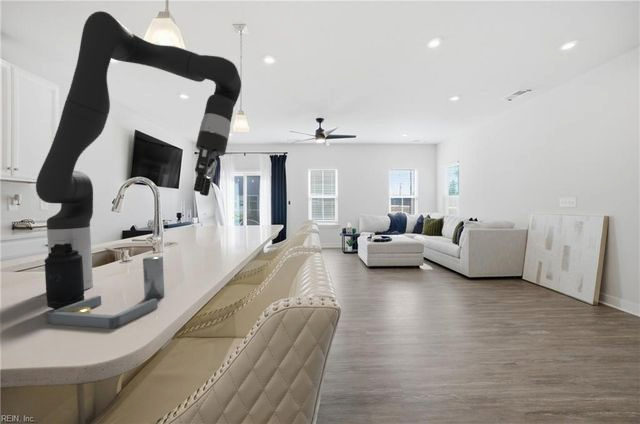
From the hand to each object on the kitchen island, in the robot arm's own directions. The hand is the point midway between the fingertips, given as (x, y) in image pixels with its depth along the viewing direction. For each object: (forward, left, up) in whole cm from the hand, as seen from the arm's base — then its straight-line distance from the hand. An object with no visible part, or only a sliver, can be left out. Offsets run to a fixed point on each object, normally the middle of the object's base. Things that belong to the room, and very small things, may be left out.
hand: (201, 193), depth 79 cm
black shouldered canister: (-25, -17, -26) cm, 40 cm away
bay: (-12, -18, -26) cm, 34 cm away
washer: (-16, -21, -26) cm, 37 cm away
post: (-10, -7, -26) cm, 29 cm away
